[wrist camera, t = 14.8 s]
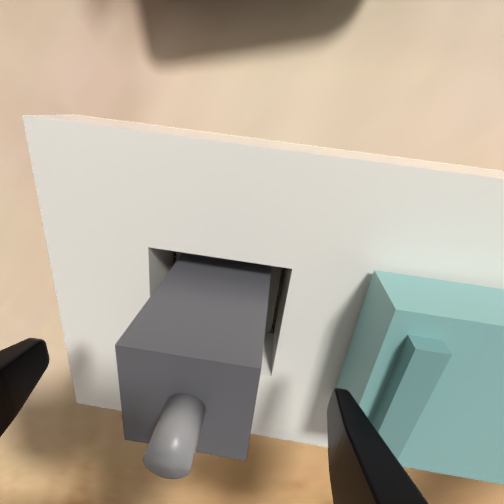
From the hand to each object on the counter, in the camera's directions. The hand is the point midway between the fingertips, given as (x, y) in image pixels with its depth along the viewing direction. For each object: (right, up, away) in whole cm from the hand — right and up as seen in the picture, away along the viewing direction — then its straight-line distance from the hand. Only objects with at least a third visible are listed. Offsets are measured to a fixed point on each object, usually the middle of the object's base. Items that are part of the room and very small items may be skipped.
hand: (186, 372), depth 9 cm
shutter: (+9, -1, +3) cm, 10 cm away
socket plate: (+3, +2, +6) cm, 7 cm away
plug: (+1, +2, +6) cm, 6 cm away
